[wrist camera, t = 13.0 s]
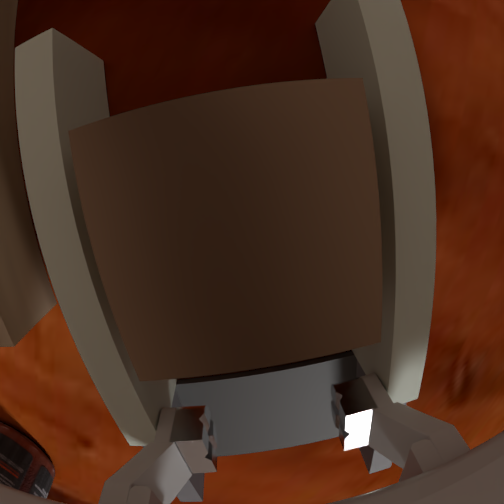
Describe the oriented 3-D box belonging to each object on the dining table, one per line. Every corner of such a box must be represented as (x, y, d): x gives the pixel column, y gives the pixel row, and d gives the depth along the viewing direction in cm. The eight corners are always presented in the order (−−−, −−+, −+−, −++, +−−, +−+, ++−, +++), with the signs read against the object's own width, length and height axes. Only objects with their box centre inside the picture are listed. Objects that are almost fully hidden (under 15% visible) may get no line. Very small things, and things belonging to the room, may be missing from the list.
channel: (348, 24, 8) (393, -20, 5) (372, 422, 13) (396, 474, 10) (72, 72, 8) (15, 47, 5) (184, 453, 13) (177, 510, 10)
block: (301, 113, 9) (362, 77, 4) (321, 263, 11) (380, 342, 6) (144, 140, 9) (68, 130, 4) (175, 287, 11) (139, 381, 6)
